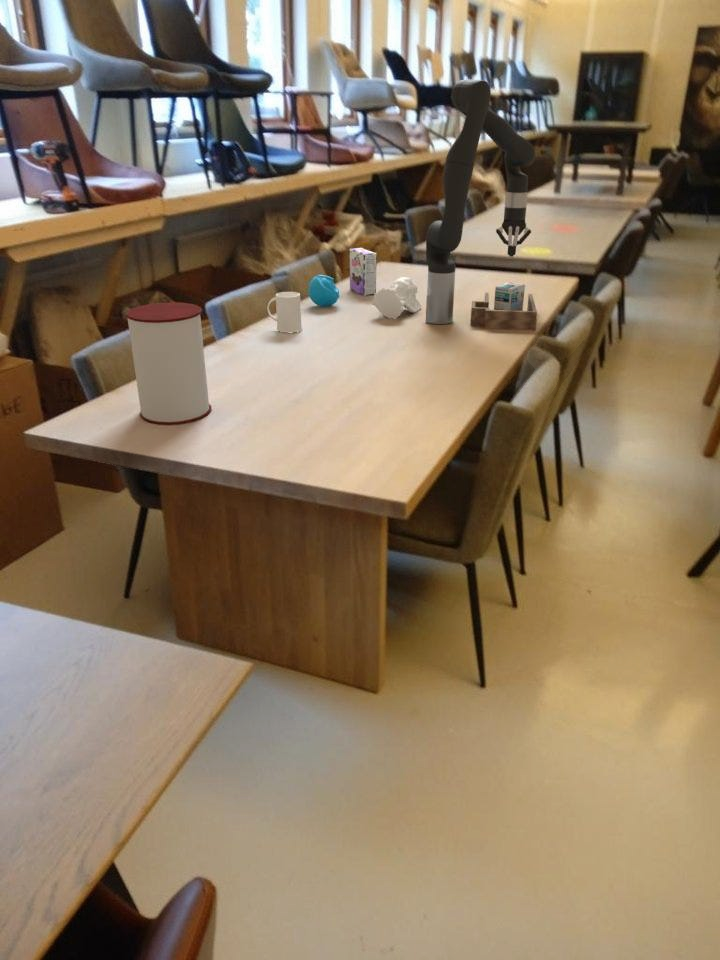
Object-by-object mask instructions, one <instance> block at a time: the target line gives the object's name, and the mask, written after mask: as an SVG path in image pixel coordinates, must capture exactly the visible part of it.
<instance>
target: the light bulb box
mask: <svg viewBox="0 0 720 960" xmlns="http://www.w3.org/2000/svg"><path fill="white" fill-rule="evenodd" d="M525 288H526V284H525V283H518V282H512V281H508V282H504V283H502V284H500V285H496V286H495V290H494V291H495V292H494V301H493V302H494V303H493V310H509V311H524V301H525V300H524V299H525Z"/></svg>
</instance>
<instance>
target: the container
mask: <svg viewBox="0 0 720 960" xmlns="http://www.w3.org/2000/svg"><path fill="white" fill-rule="evenodd" d="M202 313H203V308H202V307H200V306H199V305H197V304H193V303H189V302H188V303H187V302H175V301H172V302H157V303H148V304H143V305H138V306H134V307H132V308H129V309H128V310H127V311H126V313H125V317H126V318H127V324H128V330H129V337H130V343H131V351H132V358H133V365H134V371H135V380H136V387H137V392H138V393H137V395H138V400H139V406H140V409H139V410H140V412H139V416H140V418H141V419H142V420H143V421H145V422H147V423H149V424H153V425H154V424H155V425H163V426H173V425H183V424H188V423H190V424H191V423H194V422H197V421H199V420H202V419H204V418H206V417H207V416H209V415H210V413H212V405H211V404H210V402H209V392H208V391H209V390H208V380H207V371H206V370H207V368H206V359H205V348H204V341H203V340H204V339H203V330H202V320H201V319H202V318H201V314H202Z"/></svg>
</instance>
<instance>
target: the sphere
mask: <svg viewBox="0 0 720 960" xmlns="http://www.w3.org/2000/svg"><path fill="white" fill-rule="evenodd" d="M334 280H335V279H334V278H333V277H331V276H329V275H325V274H318V275H315V276H314V277H313V278H312V279H311V281H310V282H309V285H308V296H309V299H310V300H311V301H312V303H313V304H315V305H316V306H319V307H323V308H328V307H331V306H333V305H335V304H336V303H337V301H338V300H339V298H340V290H339V288H338V287H337V286H336V284H335V283H334Z"/></svg>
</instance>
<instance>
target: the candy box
mask: <svg viewBox="0 0 720 960" xmlns="http://www.w3.org/2000/svg"><path fill="white" fill-rule="evenodd" d="M377 258H378V257H377V252H374V251H370V250H368V249H365V248H363V247H356V248H349V290H350V289H351V291H353V292H354V291H355V293H356V292H357V294H358V295H361V296H363V297H367V295H369V296H374V295H375V293H376V292H377Z"/></svg>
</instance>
